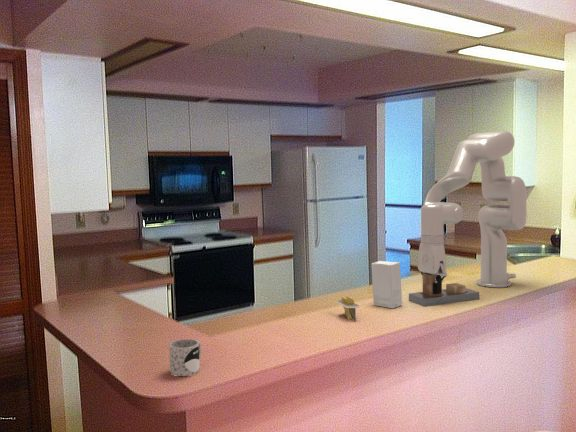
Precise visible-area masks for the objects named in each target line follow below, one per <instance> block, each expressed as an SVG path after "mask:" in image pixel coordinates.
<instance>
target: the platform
mask: <svg viewBox="0 0 576 432" xmlns="http://www.w3.org/2000/svg"><path fill="white" fill-rule="evenodd" d="M337 304H339V305H341V306H342V307H343V309H344V315H345V316H346V318H347V320H354V321H357V320H356V319H357V318H356V312H357V311H356V309H360V305H359V304H357V303H355V299H353V298H351V297H349V296H347V295H346V296H345V297H344V296H341V299H340V300H337Z"/></svg>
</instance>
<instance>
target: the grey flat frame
mask: <svg viewBox="0 0 576 432" xmlns="http://www.w3.org/2000/svg"><path fill="white" fill-rule="evenodd" d="M475 299H477V300H480V291H477V290H476V291H475V290H473V289H469V288H466V287H465V293H459V294H452V293H449V292H446V288H445V289H443V288H442V296H435V297H429V296H426V295H423V291H420V292H411V293H408V301H409V302H412V303H414V304H417V305H419V306H422V307H429V306H436V305H437V306H438V305H444V304H452V303H453V304H455V303H460V302H467V301H468V300H469V301H476V300H475ZM469 301H468V302H469Z"/></svg>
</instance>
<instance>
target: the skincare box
mask: <svg viewBox="0 0 576 432" xmlns="http://www.w3.org/2000/svg"><path fill="white" fill-rule="evenodd" d="M401 277H402V275H401V262H399V261H386V260H385V261H384V260H378V261H374V262H372V263H371V281H372V283H371V284H372V286H371V287H372V302H373V306H378V307H384V308H388V309H395V308H398V307H402V305H403V299H402V297H403V295H402V281H401V280H402V278H401Z"/></svg>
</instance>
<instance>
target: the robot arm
mask: <svg viewBox="0 0 576 432" xmlns="http://www.w3.org/2000/svg"><path fill="white" fill-rule="evenodd" d="M514 147H515V137H514V135H513V134H512V133H511V132H510V131H507V130H499V131H485V132H477V133H473V134H471V135H469V136H468V138H467V139H463V140H461V141H460V142H459V143H458V144H457V146H456V149H455V151H454V154H453V156H452V159H451V162H450V165H449V168H448V170H447V173H446V174H445V175H444V176H443V177H442V178H440V179H439V180H438V181H437V182H436V183H435V184H434V185H433V186H432V187H431V188H430V189H429V191H428V192H427V194H426V196H425V199H424V201H423V205H422V206H421V207H420V244H419V248H418V254H417V255H418V258H417V269H418V271H419V272H420V273H421V276H422V280H423V273H429V274H433V279H434V283H433V294H441V282H442V283H443V281H444V279H446V277H447V276H448V273H447V271H446V269H447V268H446V267H447V266H446V265H447V261H446V250H445V242H444V237H445V236H444V234H445V231H444V229H445V226H444V225H456V224H457V223H460V222H461V220H462V219H463V217H464V208H463V207H462V206H461V205H460V204H459V203H455V202H444V201H442V200H443V199H444V198H445V197H446V196H448V195H449V194H451V193H452V192H454V191H457V190H458V189H459V190H460V189H462V188H464V187H465V186H467V185H469V184H470V183H471V180H472V177H473V174H474V171H475V169H476V165H477V164H478V163H479V164H480V170H481V172H480V173H481V194H482V197H483V199H485V200H486V201H490V202H508V204H496V203H495V204H494V203H492V204H490V203H489V204H486V205H483V206H481V207H480V209H479V211H478V223H479V229H480V278H479V279H477V280H476V284H477V285H478V286H481V287H485V286H486V287H485V288H508V287H511V285H512V284H511V283H512V282H511V281H510V279H516V278H517V275H516V273H509V272H508V269H507V267H508V263H507V262H508V239H507V236H506V235H505V233H504V231H503V230H506V231H507V230H508V231H519V230H522V229H524V227H525V226H526V223H527V217H528V215H527V188H526V187H527V186H526V184H525V181H524V180H523V179H522V177H519V176H514V175H512V176H510V175H509V176H506V171H505V170H506V168H505V162H504V160H503V157H505V156H506V155H509V154H510V153H511V152H512V151H513V149H514ZM436 275H439V276H438V277H437V276H436ZM507 286H508V287H507Z"/></svg>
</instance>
